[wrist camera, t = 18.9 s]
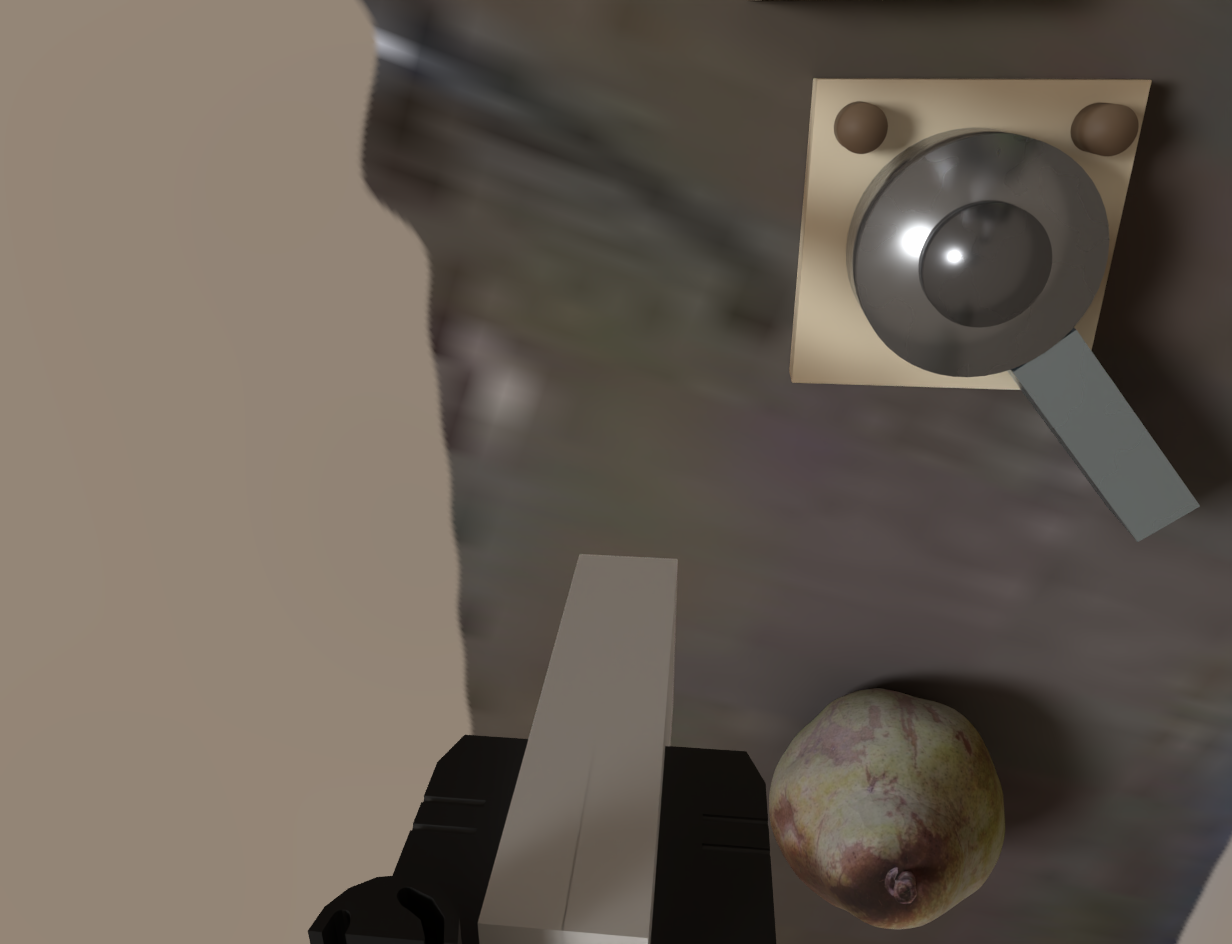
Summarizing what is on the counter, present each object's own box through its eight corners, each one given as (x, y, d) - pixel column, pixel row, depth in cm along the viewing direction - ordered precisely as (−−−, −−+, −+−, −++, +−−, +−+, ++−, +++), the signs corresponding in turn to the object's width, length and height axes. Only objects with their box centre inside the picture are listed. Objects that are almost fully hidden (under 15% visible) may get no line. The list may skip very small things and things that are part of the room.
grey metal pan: (801, 231, 33) (811, 251, 30) (996, 75, 31) (1032, 77, 27) (1043, 545, 38) (1076, 594, 34) (1234, 431, 35) (1291, 472, 31)
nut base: (813, 78, 33) (822, 80, 30) (1133, 78, 32) (1171, 81, 29) (789, 370, 37) (795, 395, 35) (1068, 379, 36) (1097, 405, 34)
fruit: (910, 618, 42) (978, 816, 31) (1019, 750, 44) (1118, 977, 33) (730, 722, 45) (734, 933, 34) (841, 840, 48) (877, 1072, 37)
